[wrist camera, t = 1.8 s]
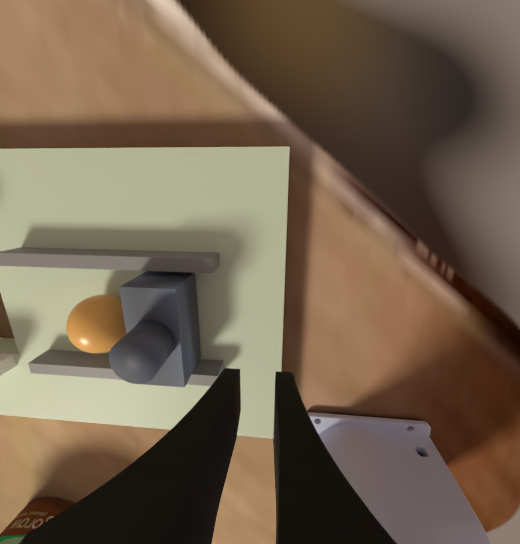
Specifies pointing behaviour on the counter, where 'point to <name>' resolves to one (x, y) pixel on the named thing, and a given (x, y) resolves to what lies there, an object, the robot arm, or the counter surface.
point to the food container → (33, 518)
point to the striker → (158, 330)
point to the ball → (96, 323)
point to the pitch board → (136, 260)
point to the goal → (6, 362)
